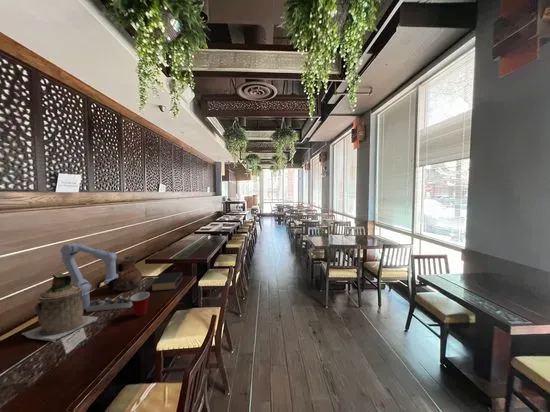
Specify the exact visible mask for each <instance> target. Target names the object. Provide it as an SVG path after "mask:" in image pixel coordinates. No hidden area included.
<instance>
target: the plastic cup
mask: <svg viewBox="0 0 550 412" xmlns="http://www.w3.org/2000/svg"><path fill="white" fill-rule="evenodd" d="M150 295H151V294H150V292H148V291H142V292H138V293H135V294H133V295H132V296H129V298H130V300H131V301H132V304H133V305H132V306H133V309H134V313H135V316H136V317H143V316H145V315H146V314H147V312H148V305H149V304H148V303H149V297H150Z"/></svg>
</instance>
